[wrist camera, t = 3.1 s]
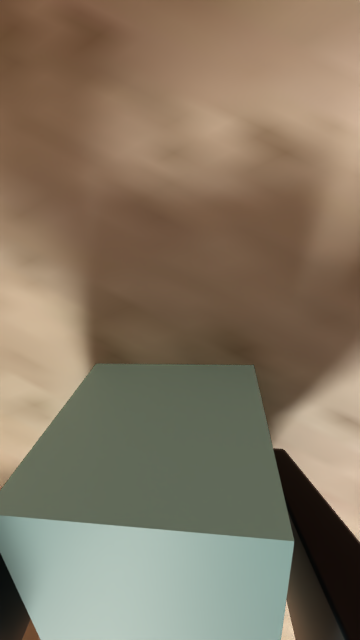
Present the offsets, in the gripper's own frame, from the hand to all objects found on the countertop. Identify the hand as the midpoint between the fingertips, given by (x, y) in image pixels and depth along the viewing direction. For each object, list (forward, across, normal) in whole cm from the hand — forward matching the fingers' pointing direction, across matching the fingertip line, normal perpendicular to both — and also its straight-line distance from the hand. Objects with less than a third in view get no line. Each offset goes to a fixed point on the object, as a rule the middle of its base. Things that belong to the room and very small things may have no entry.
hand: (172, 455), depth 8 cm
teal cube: (+1, 0, 0) cm, 1 cm away
